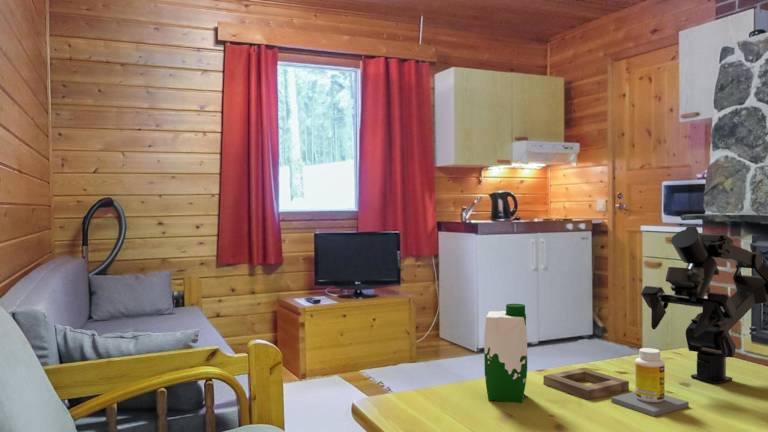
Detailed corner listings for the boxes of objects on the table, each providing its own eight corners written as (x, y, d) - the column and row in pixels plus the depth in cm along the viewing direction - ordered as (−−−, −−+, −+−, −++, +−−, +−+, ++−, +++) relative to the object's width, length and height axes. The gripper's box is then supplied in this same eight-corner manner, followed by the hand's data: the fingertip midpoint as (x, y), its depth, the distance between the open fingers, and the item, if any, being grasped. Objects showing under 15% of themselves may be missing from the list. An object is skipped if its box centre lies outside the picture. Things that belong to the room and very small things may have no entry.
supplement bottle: (663, 405, 118) (663, 354, 118) (633, 401, 121) (633, 351, 121) (665, 397, 123) (665, 348, 123) (636, 393, 126) (636, 345, 125)
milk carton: (526, 405, 122) (526, 308, 122) (482, 401, 125) (482, 307, 124) (528, 392, 131) (527, 302, 130) (486, 389, 133) (486, 301, 133)
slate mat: (645, 393, 129) (645, 388, 129) (688, 406, 120) (688, 401, 120) (611, 402, 123) (611, 397, 123) (653, 416, 115) (653, 411, 115)
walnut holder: (583, 375, 143) (583, 367, 143) (628, 390, 131) (628, 381, 131) (543, 384, 136) (543, 375, 136) (588, 399, 125) (588, 390, 125)
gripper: (644, 251, 139) (619, 303, 132) (729, 256, 124) (705, 314, 117) (662, 282, 144) (638, 333, 137) (745, 290, 129) (723, 347, 122)
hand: (673, 331), depth 128 cm, fingers open, 9 cm apart
